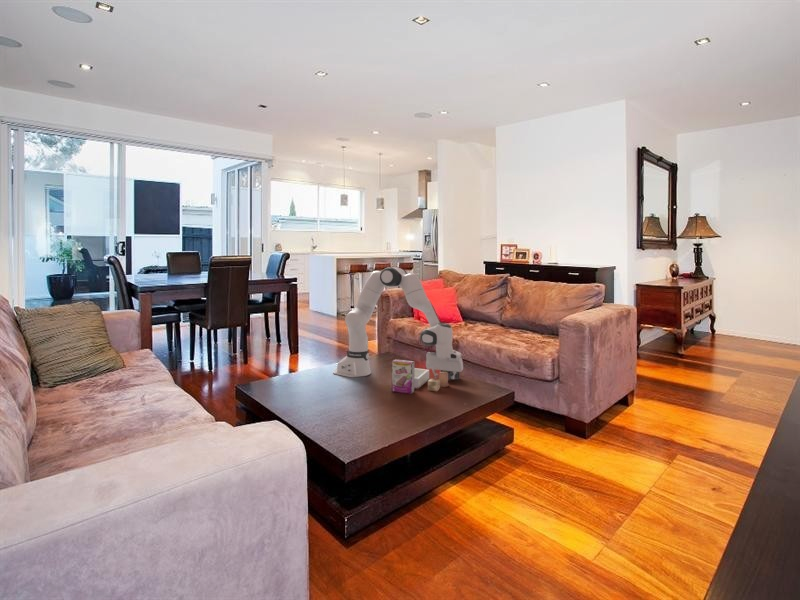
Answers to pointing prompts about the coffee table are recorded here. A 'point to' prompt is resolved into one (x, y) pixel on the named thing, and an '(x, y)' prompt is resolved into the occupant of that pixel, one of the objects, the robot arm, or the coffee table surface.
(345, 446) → the coffee table surface
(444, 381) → the peach capsule
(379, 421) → the coffee table surface
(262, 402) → the coffee table surface
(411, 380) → the candy bar box
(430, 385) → the maple cube
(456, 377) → the small box
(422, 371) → the white tote
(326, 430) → the coffee table surface
